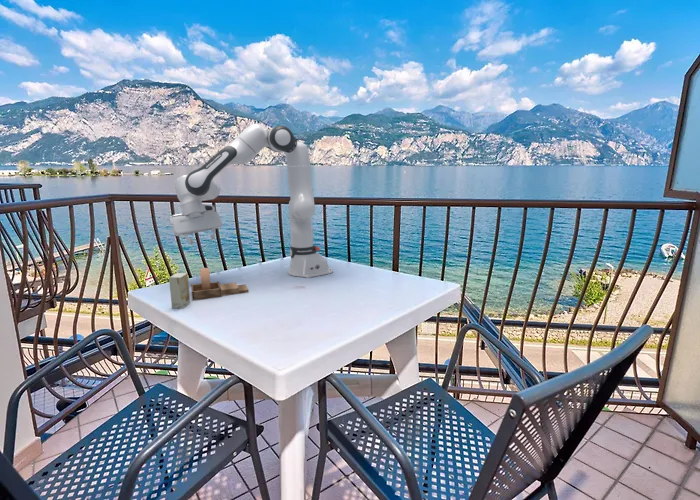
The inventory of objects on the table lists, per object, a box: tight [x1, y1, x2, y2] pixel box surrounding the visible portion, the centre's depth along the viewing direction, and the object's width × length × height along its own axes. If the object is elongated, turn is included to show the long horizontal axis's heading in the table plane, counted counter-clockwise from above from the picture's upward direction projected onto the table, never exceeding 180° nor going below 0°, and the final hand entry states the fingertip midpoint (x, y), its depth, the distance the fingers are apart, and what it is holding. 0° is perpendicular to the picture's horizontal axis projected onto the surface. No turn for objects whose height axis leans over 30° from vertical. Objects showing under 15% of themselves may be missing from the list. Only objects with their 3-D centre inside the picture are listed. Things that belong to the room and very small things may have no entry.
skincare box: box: [168, 272, 191, 309], centre depth 133 cm, size 6×4×12 cm
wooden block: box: [199, 267, 211, 290], centre depth 145 cm, size 4×4×10 cm
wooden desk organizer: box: [190, 281, 250, 301], centre depth 148 cm, size 22×10×4 cm, turn 115°
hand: (202, 241), depth 154 cm, fingers open, 8 cm apart
